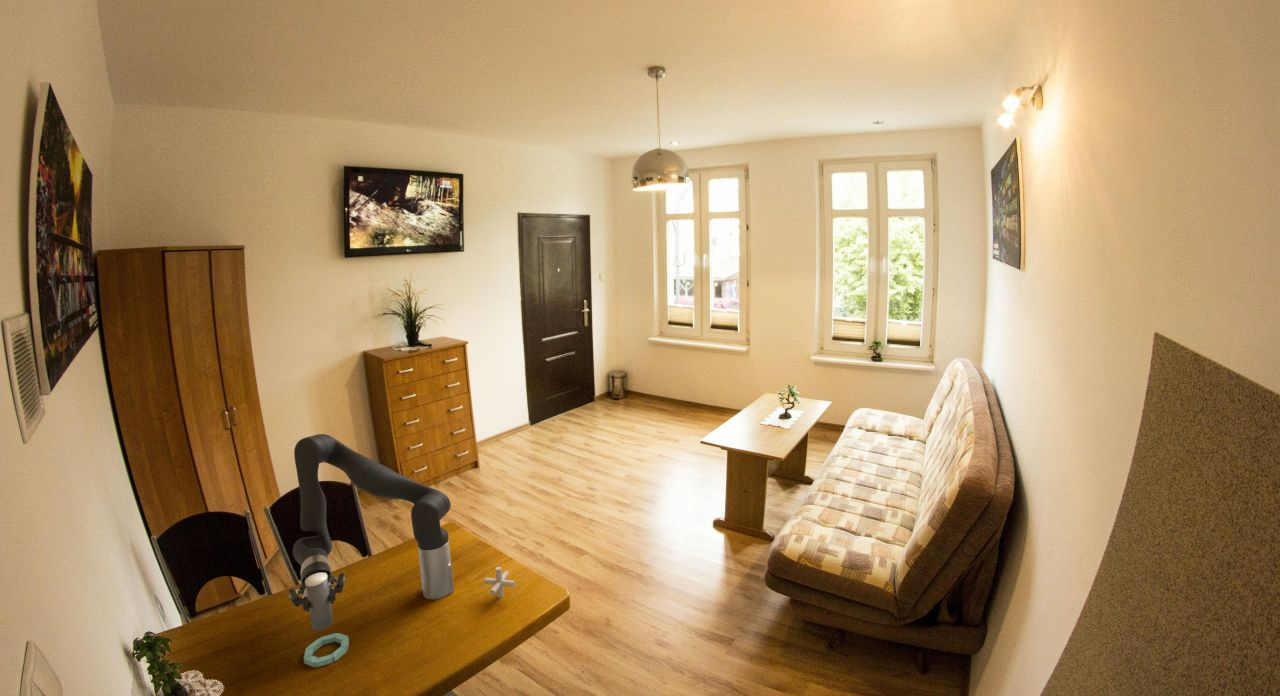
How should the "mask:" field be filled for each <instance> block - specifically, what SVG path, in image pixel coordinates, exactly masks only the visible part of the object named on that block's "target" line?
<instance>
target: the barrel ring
mask: <svg viewBox="0 0 1280 696" xmlns="http://www.w3.org/2000/svg"><path fill="white" fill-rule="evenodd" d="M334 642H335V643H338V644H340V647H338V648H337V649H336V650H335V651H333V652H332V653H330V654H327V655H324V656H320V657H318V656H315V655H313V654H314V652H316V651H317V650H318V649H319V648H321V647H323V646H325V645H327V644H332V643H334ZM349 643H350V639H349V635H346V634H342V633H341V632H340V633H338V632H337V633H336V632H335V633H331V634H327V635H325V636H320V638H319V637H318V638H317V639H316V640H315V641H313V642H312V643H310V644H309V645H308V646H307V647H306V648H305V651H304V654H303V664H305V665H307V666H309V667H313V668H319V667H323V666H326V665H329V664H333V663H334V662H336V661H338V659H340V658H341V657H342V656H343V655H345V654H346V653H347V652H348V651H349V645H350V644H349Z"/></svg>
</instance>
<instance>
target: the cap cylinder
mask: <svg viewBox="0 0 1280 696" xmlns="http://www.w3.org/2000/svg"><path fill="white" fill-rule="evenodd" d="M327 578H328V576H327V574H326V573H316V574H313V575H311V576H309V577H308V578H307V579H306V580H305V585H306V590H307V597H308V602H309V610H310V611H309V615H310V625H311V628H312V630H313V631H314V632H315V631H323V630H325V629H327V628H329V627H330V626H331V625H332V624H333V622H334V617H333V610H332V604H331V603H330V596H329V587H328V579H327Z"/></svg>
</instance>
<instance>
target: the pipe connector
mask: <svg viewBox="0 0 1280 696" xmlns="http://www.w3.org/2000/svg"><path fill="white" fill-rule="evenodd" d="M502 569H503V568H502V566H496V567H495V578H492V577H485V578H484V579H483V584H484V585H492V587H491V588H490V589H489V594H490V595H491V596H494V595H495V594H497V599H502V598H504V587H511V588H514V587H515V586H516V581H515V580H510V579H507V577H509V575H510V572H509V571H508V570H505V571H503V570H502ZM502 572H503V573H502Z"/></svg>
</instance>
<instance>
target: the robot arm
mask: <svg viewBox="0 0 1280 696" xmlns="http://www.w3.org/2000/svg"><path fill="white" fill-rule="evenodd" d="M293 455H294V462H295V463H294V464H295V469H296V474H297V480H298V481H297V482H298V488H299V494H300V495H299V496H300V524H299V525H300V529H301V530H302V531H304V532H315V533H317V534H318V535H315V536H314V535H313V536H308V537H307V536H306V537H302V538H300V539H297V540H296V541H295V542H294V544H293V546H292V555H293V558H294V560H295V562H297V563H298V564H299V565H300V584H301V585H300V586H299V588H297V589H294V588H290V589H288V596H289V597H288V598H289V601H291V603H292V605H293V606H294V607H295V608H297V607H300V606H301V605H302V611H303V612H304V611H306V613H308V612H310V610H309V602H308V597H307V590H306V585H305V580H306V579H307V578H308V577H309V576H311V575H313V574H316V573H326V574H327V576H328V578H327V579H328V587H329V596H330V603H331V605H332V604H334V602H335V601H337V596H336V594H340V593H343V590H344V586H345V583H346V578H345V577H346V576H345V573H344V572H343V573H339V575H338V576H334V575H332V569H331V565H330V562H329V558H328V556H329V555H330V553H331V551H332V549H333V543H332V540H331V536H330V533H329V531H328V526H327V525H328V524H327V500H326V496H325V494H324V491H323V489H322V487H321V485H320V481H319V468H320V467H319V466H320V464H321V463H325V464H329V465H331V466H333V467H335V468H337V469H339V470H341V471H343V472H344V473H345V475H346V476H347V478H348V480H350V482H351V483H352V484H353V485H354V486H355V487H356V488H358V489H360V491H364V492H366V493H367V494H370V495H372V496H374V497H377V498H384V499H385V498H386V499H394V500H395V499H396V500H402V501H406V502H409V503H411V504H413V506H412V508H411V510H410V518H411V519H410V520H411V525H412V532H413V537H414V539H415V541H416V543H417V548H418V560H419V566H420V567H419V568H420V569H419V570H420V578H421V588H422V596H423V597H424V598H425V599H427V600H438V599H441V598H444V597H446V596H448V595H450V594H451V593H454V590H455V588H454V580H453V569H452V568H453V567H452V561H451V551H450V550H451V549H450V541H449V533H448V530H447V529H445V528H442V527H441V520H442V519H443V518H444V517H446V515H447V514H448V513H449V511H450V509H451V505H452V504H451V500H450V499H449V497H448V496H447V495H446V494H445V493H444V492H442V491H440V490H438V489H436V488H433V487H430V486H428V485H426V484H423V483H420V482H417V481H415V480H413V479H411V478H408V477H406V475H405V476H404V475H403V474H400V473H399V472H396V471H395V470H392V469H391V468H390V467H387V466H385V465H383V464H382V463H379V462H377V461H375V460H373V459H371V458H369V457H367V456H365V455H363V454H361V453H359V452H357V451H354V450H353V449H351V448H349V447H348V446H347V445H345V444H343V443H342V442H341V441H339V440H337V439H336V438H335V437H333V436H331V435H329V434H325V433H317V434H314V435H310V436H307V437H303V438H300V440H298V441H297V443H296V444H295V446H294V451H293ZM335 583H336V585H335V586H334V584H335ZM300 594H302V596H299V595H300Z"/></svg>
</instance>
